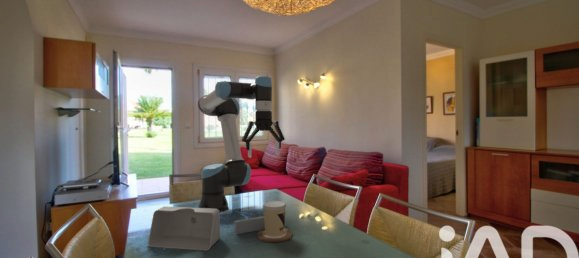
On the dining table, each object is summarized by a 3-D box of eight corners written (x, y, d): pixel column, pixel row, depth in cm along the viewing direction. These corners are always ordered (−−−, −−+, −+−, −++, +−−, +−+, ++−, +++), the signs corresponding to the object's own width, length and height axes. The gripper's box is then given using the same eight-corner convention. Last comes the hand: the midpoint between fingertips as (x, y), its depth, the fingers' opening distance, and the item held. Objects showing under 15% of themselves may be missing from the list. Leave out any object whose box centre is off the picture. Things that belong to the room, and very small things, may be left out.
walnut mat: (252, 232, 116) (252, 229, 116) (283, 226, 122) (283, 224, 122) (264, 245, 103) (264, 243, 103) (297, 238, 110) (297, 236, 109)
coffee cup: (283, 238, 107) (283, 207, 107) (260, 236, 109) (260, 206, 109) (288, 229, 116) (288, 201, 116) (267, 227, 118) (266, 200, 118)
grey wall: (234, 232, 116) (234, 220, 116) (282, 223, 125) (282, 212, 125) (236, 234, 114) (235, 222, 114) (284, 225, 123) (284, 214, 123)
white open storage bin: (226, 233, 116) (226, 203, 115) (209, 250, 100) (209, 216, 100) (171, 230, 119) (171, 201, 119) (147, 246, 104) (146, 213, 103)
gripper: (239, 110, 118) (239, 159, 119) (291, 110, 129) (291, 155, 130) (234, 110, 125) (235, 157, 126) (284, 111, 136) (285, 153, 136)
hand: (263, 156), depth 128 cm, fingers open, 13 cm apart
